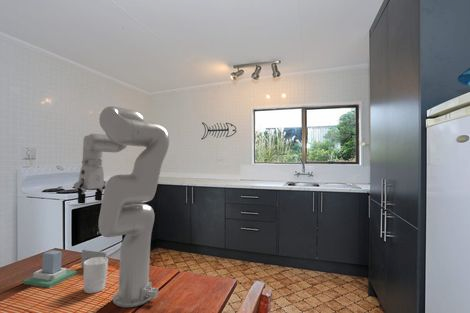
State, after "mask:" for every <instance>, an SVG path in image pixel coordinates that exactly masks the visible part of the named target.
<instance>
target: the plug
mask: <svg viewBox="0 0 470 313" xmlns="http://www.w3.org/2000/svg"><path fill="white" fill-rule="evenodd" d="M62 257H63V251H61V250H56V249H55V250H54V249H51V250H49V251H45V252H42V261H41V262H42V263H41V264H42V265H41V269H42V273H47V274H54V273H57V272H59V271H61V268H62Z"/></svg>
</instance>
